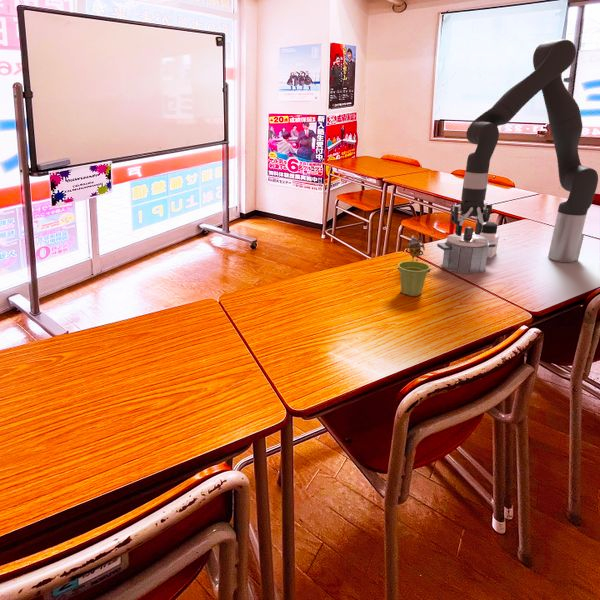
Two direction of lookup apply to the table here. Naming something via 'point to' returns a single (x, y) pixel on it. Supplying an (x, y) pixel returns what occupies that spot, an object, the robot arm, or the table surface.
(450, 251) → the pot
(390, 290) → the table surface
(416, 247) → the robot figurine
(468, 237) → the lid
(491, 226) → the medicine bottle
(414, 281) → the plant pot
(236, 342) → the table surface
